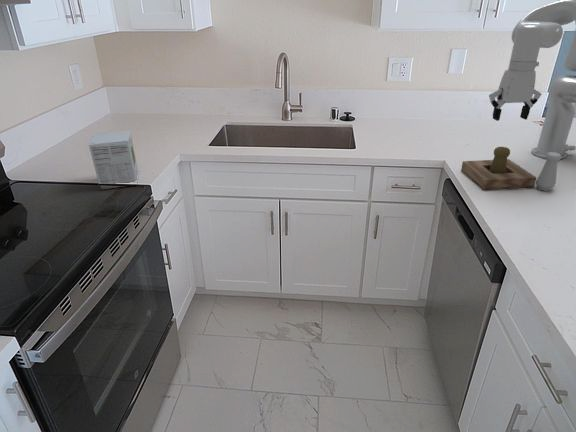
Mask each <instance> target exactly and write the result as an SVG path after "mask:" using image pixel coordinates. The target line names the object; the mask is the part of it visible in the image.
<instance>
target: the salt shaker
mask: <svg viewBox="0 0 576 432" xmlns="http://www.w3.org/2000/svg"><path fill="white" fill-rule="evenodd" d="M545 160H546V161H545V163H544V165H543V166H542V169H541V171H540V173H539V175H538V177H537V179H536V182H535V185H536V187H537V189H538V190H539V189H540V190H539V191H541V190H543V191H542V192H550V191H551V190H553V188H555V186H556V184H557V173H558V163H559V162H560V160H562V159H561V155H560V154H559V153H555V152H549V153H547V155H546V158H545ZM549 190H550V191H549Z"/></svg>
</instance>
